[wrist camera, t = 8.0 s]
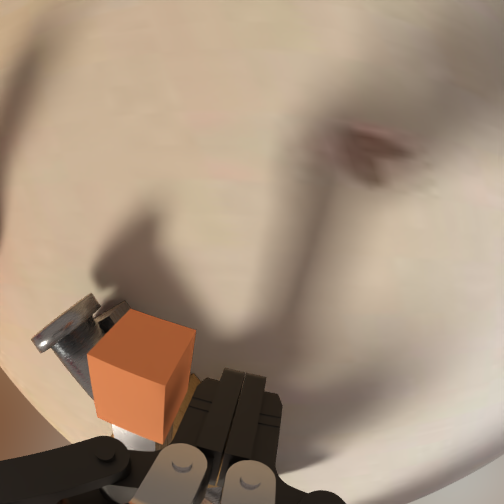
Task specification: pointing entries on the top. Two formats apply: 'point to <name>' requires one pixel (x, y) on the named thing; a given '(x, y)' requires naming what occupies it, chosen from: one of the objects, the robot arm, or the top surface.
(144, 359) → the lever
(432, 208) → the top surface
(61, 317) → the valve pipe
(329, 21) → the top surface
